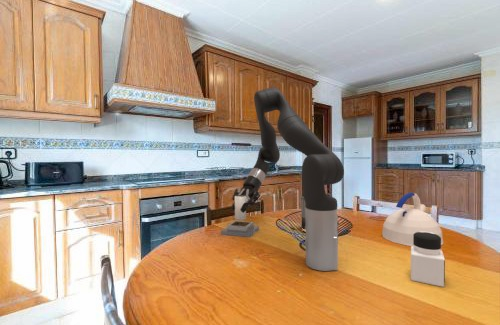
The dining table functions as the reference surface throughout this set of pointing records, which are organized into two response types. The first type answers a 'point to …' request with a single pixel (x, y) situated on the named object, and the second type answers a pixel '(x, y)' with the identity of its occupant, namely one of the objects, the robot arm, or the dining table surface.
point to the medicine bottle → (427, 259)
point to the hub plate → (240, 229)
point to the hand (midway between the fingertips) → (237, 210)
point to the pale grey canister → (239, 207)
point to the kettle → (409, 222)
